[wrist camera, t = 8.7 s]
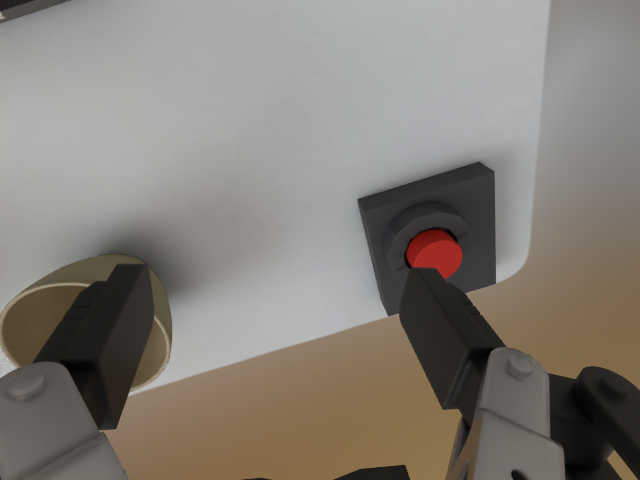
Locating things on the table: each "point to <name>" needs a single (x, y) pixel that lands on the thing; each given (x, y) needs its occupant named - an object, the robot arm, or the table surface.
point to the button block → (433, 213)
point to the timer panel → (23, 7)
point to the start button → (435, 252)
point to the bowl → (57, 297)
